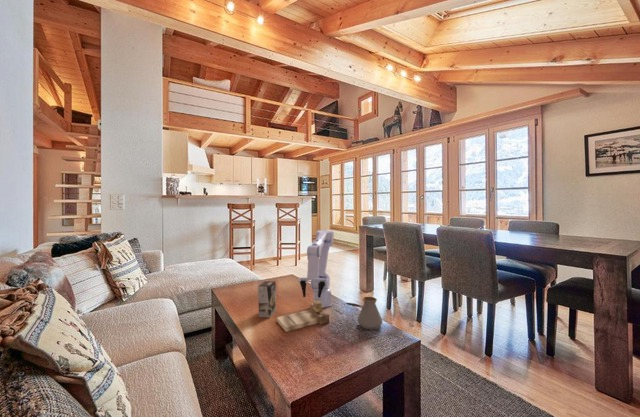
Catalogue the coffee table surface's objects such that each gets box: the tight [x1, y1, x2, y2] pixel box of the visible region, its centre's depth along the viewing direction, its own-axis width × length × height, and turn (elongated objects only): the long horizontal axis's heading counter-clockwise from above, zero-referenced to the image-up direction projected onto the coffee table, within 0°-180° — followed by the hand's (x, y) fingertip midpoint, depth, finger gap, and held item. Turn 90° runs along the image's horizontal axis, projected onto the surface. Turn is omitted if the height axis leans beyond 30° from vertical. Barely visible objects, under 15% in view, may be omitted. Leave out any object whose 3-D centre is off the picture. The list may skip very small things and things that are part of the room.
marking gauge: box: [309, 300, 330, 325], centre depth 135 cm, size 5×13×8 cm, turn 29°
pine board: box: [276, 309, 319, 333], centre depth 132 cm, size 22×12×2 cm, turn 119°
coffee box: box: [257, 280, 277, 319], centre depth 141 cm, size 9×6×16 cm
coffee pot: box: [343, 296, 383, 331], centre depth 123 cm, size 21×12×15 cm, turn 129°
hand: (311, 297), depth 134 cm, fingers open, 7 cm apart
